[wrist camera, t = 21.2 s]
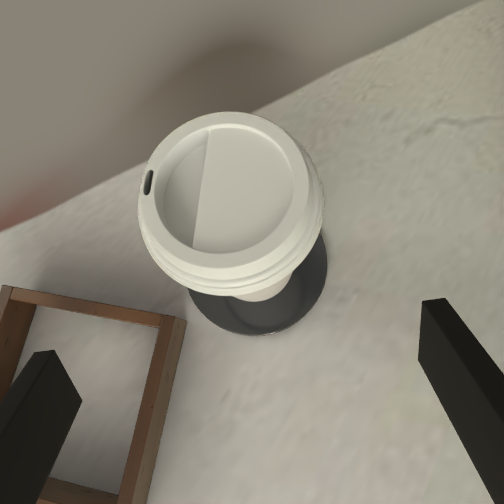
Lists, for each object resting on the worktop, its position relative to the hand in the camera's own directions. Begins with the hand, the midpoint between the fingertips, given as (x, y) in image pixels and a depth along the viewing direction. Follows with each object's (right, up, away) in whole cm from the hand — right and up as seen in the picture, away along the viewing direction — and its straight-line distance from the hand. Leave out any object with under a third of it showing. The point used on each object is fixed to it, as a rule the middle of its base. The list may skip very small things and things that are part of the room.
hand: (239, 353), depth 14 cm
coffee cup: (+1, +3, +18) cm, 19 cm away
